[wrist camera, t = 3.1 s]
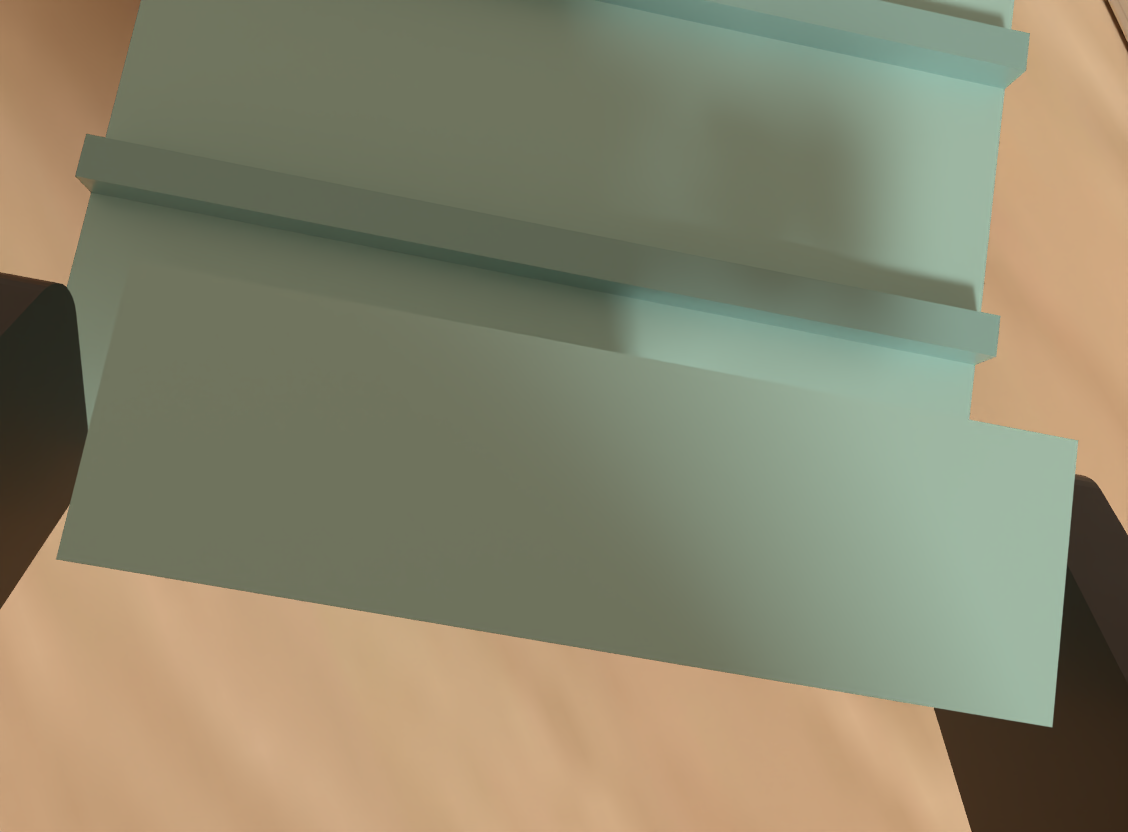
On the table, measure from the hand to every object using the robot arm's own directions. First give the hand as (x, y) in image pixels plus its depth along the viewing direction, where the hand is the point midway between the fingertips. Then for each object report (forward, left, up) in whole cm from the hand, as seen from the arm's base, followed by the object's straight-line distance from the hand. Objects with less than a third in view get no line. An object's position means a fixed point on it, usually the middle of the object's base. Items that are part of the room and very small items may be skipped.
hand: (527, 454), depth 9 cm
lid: (0, -5, -6) cm, 8 cm away
